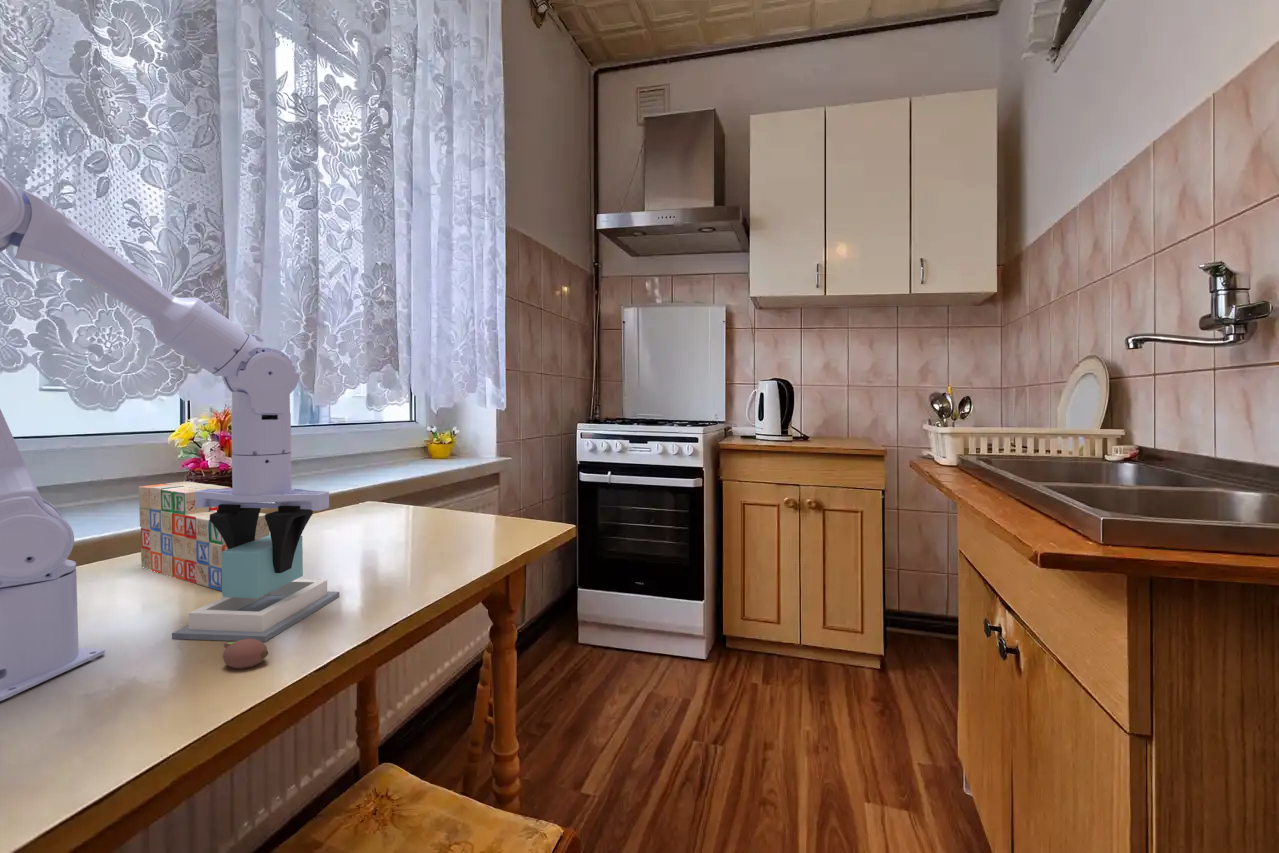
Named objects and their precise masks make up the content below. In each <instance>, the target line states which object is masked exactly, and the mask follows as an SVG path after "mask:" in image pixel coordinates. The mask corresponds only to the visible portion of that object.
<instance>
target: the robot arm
mask: <svg viewBox="0 0 1279 853" xmlns="http://www.w3.org/2000/svg"><path fill="white" fill-rule="evenodd" d="M10 246H14V247H17V249H16V254H15V256H14V259H15V260H20V261H25V262H26V261H27V262H34V263H41V264H49V265H55V266H59V267H62V268H63V269H65V270H67V271H69V272H70V273H72V274H74V275H75V276H77V277H78V278H80V279H83V280H84V281H85V282H87V283H88V284H90V285H92V286H93V287H96V288H97V289H98V290H100V291H102V292H104V293H105V294H106V295H109V296H111V297H112V298H114V299H116V300H117V301H118V302H121V303H122V304H123V305H126V306H127V307H128V308H130V309H133V311H135V312H136V313H138V314H141V315H142V316H143V317H145V318H147V319H149V320H150V321H151V323H152V324H151V325H152V326H153V330H154V336H155V338H156V340H158V341H159V342H161V343H162V344H164V345H165V346H167V347H168V348H171V350H174V351H175V352H177V353H179V354H180V355H182V356H183V357H185V359H188V360H189V361H191V362H192V363H194V364H195V365H198V367H200V368H202V369H203V370H205V371H207V372H209V374H210V373H211V375H213V376H215V377H222V381H223V384H224V386H225V387H226V388H227V389H228V391H230V393H231V404H232V405H231V406H232V407H231V409H232V410H231V414H230V416H231V417H230V418H231V471H232V472H231V476H232V477H231V480H232V487H231V488H230V489H204V490H199V491H195V507H196V508H206V507H218V510H217V512H216V513H213V514H210V521H211V523H212V524H213V525H214V526H215V527H216V529H217V530H218V531H219V533H220V534H221V536H222V538H223V539H224V541H225V543H226V545H227V548H228V550H229V549H231V548H234V547H237V546H240V545H243V544H246V543H249V542H251V541H254V540H255V533H256V526H257V521H258V517H259V513H261V510H262V509H277V510H275V511H271V512H268V513H264V514H265V520H266V522H267V525H268V528H269V531H270V534H269V535H271V540H272V548H273V566H274V571H275V573H282V572H285V571H287V570H289V569H291V567H292V563H293V558H294V554H295V551H296V548H297V544H298V542H299V539H300V536H302V533H303V532H304V530H305V528H306V526H307V524H308V522H309V520H310V519H311V517H312V516H313V514H314V511H315V512H320V511H322V510H327V509H329V508H330V491H327V490H326V491H325V490H324V491H323V490H322V491H321V490H314V489H313V490H312V489H302V488H293V486H292V431H291V430H292V424H291V423H292V422H291V421H292V420H291V419H292V416H291V415H292V413H291V394H292V392H293V391H295V389H296V388H297V386H298V385H299V384H298V383H299V380H300V373H298V372H297V371H296V368H295V365H293V361H292V360H291V358H290V357H289V356H288V355H286V354H285V353H284V352H282V351H281V350H278V349H276V348H269V347H262V342H264V338H263V337H261V336H260V335H259V334H257V333H253V334H251V333H248V332H247V331H246V330H244V329H243V328H242V327H240V326H238V325H237V324H236V323H235V322H233V321H231V320H230V319H228V318H227V317H226V316H225V315H224V314H222V312H223V310H224V308H223V307H222V306H221V305H219V304H218V303H216V302H215V301H213V300H212V301H209V302H205V301H203V300H201V299H200V298H198V297H194V296H193V297H190V296H189V297H177V296H175V295H173V294H172V293H170V292H169V291H167V289H165V288H164V287H162V286H161V285H160V284H158V283H157V282H155V281H154V280H152V279H151V277H149V276H148V275H146V274H145V273H143V272H142V271H141V270H140V269H138V268H137V267H136V266H134V265H132V263H130V262H129V261H127V260H126V259H124V258H123V257H121V256H120V255H118V253H116V252H115V251H113V249H111V248H110V247H108V246H107V245H105V244H104V243H103V242H101V241H100V240H99V239H97V238H96V237H95V236H93V235H92V234H91V233H89V232H88V231H87V230H85V229H84V228H82V227H81V226H80V225H78V224H77V223H75V222H74V221H73V220H71V219H70V218H69V217H68V216H66V215H65V214H63V213H62V212H61V211H59V210H58V209H57V208H56V207H55V206H52V205H51V204H50V203H48V202H47V201H45V200H44V199H43V198H41V197H39V196H37V195H35V194H34V193H32V192H30V191H29V190H26V189H24V188H22V191H21V193H20V192H19V189H18V188H17V187H16V186H15V185H14V184H13V183H12V182H11V181H10V180H9V179H8V178H7V177H6V176H4V175H3V174H1V173H0V253H1V252H3V251H4V250H7V249H9V248H10ZM74 544H75V534H74V531H73V528H72V526H71V525H70V524H69V522H68V521H67V520H66V519H65V518H63V516H62V513H61V512H60V511H59V509H58V508H57V507H56V506H55V505H54V504H52V503H50V502H49V501H48V500H46V499H44V498H43V497H41V494H40V492H39V490H38V488H37V486H36V484H35V482H34V480H33V478H32V476H31V474H30V471H29V469H28V467H27V465H26V463H25V460H24V458H23V455H22V454H21V451H20V450H19V448H18V445H17V442H16V441H15V438H14V436H13V433H12V432H11V430H10V427H9V425H8V423H7V420H6V418H5V416H4V414H3V412H2V410H1V408H0V702H2V701H4V700H6V699H9V698H10V697H13V696H15V695H18V694H19V693H22V692H24V691H26V690H28V689H30V688H31V689H32V687H36V686H37V685H39V684H41V683H44V682H47V681H48V680H50V679H52V678H54V677H57V676H59V675H61V674H63V673H65V672H68V671H70V670H72V669H74V668H76V667H78V666H81V665H83V664H86V663H87V662H90V661H92V660H93V659H96V658H98V657H100V656H103V655H104V654H105V653H106V649H105V648H103V647H101V648H98V647H97V648H96V647H79V624H78V623H79V622H78V621H79V620H78V618H79V616H78V582H77V580H78V579H77V578H78V577H77V562H76V561H74V560H70V559H68V558H69V556H70V554H71V553H72V551H73V548H74Z"/></svg>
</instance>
